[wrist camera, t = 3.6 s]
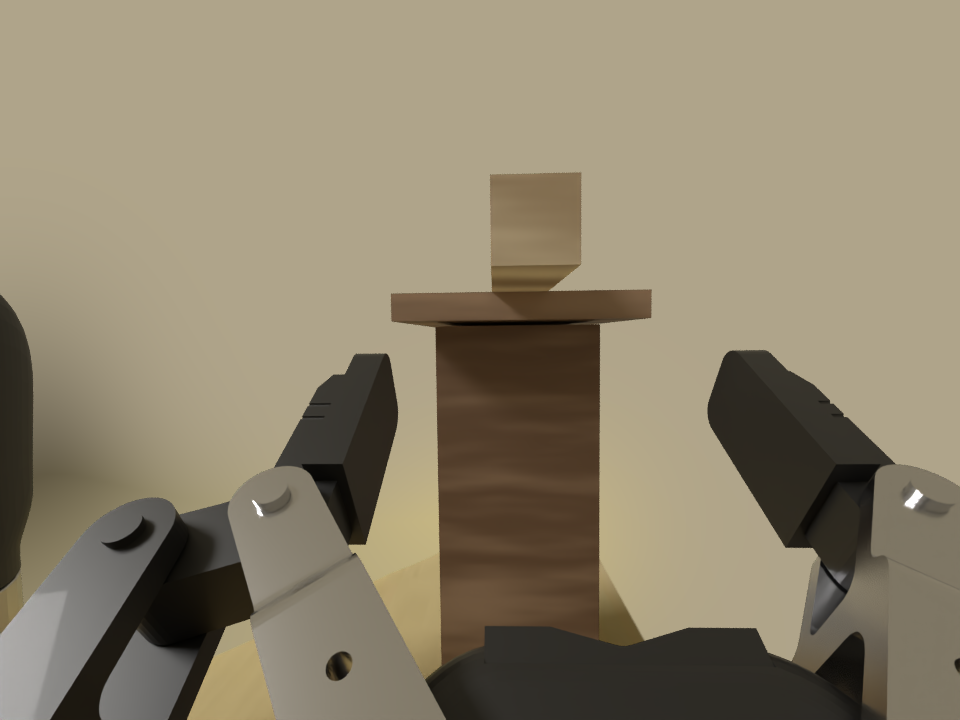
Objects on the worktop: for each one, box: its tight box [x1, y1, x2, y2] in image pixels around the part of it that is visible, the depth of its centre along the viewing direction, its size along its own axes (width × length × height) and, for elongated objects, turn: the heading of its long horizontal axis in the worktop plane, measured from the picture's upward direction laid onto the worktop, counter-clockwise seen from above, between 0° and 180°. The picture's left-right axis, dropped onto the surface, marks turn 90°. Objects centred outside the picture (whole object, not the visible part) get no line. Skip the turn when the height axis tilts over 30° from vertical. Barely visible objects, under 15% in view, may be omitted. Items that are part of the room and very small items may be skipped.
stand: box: [391, 290, 651, 665], centre depth 34 cm, size 20×14×32 cm
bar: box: [490, 173, 581, 292], centre depth 34 cm, size 40×3×3 cm, turn 178°
